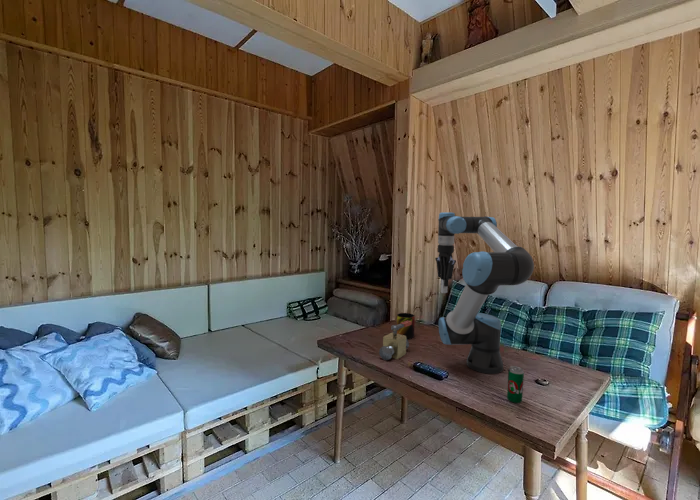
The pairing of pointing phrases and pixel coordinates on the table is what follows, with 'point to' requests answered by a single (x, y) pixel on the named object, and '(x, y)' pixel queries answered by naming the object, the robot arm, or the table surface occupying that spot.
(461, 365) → the table surface
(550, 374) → the table surface
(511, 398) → the soda can
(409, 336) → the mug
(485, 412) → the table surface
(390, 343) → the valve
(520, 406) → the table surface
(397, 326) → the lever
